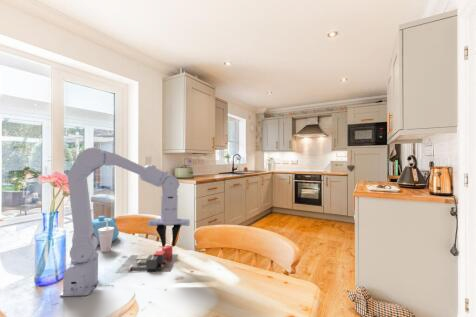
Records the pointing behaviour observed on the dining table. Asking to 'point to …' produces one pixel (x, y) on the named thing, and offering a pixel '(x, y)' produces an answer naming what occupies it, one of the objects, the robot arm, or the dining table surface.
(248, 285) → the dining table surface
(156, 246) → the dining table surface
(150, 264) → the breaker plain
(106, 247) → the smoothie
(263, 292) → the dining table surface
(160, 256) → the breaker tagged
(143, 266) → the breaker panel
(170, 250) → the lockout cap
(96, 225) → the teapot
